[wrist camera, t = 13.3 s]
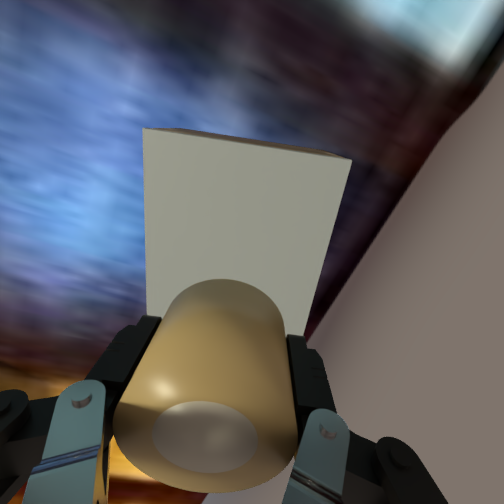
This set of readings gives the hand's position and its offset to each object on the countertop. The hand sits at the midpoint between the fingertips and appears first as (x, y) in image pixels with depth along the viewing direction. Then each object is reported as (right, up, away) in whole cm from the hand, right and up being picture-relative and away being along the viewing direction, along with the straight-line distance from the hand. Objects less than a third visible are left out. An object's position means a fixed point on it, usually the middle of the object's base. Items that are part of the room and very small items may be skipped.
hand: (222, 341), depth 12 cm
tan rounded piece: (0, 0, +1) cm, 1 cm away
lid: (0, +4, +11) cm, 12 cm away
